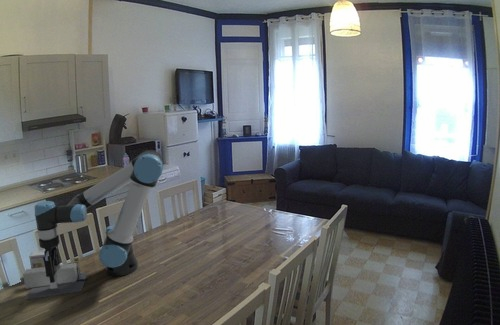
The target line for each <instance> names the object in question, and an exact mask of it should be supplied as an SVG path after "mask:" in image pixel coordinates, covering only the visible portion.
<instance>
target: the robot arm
mask: <svg viewBox="0 0 500 325" xmlns="http://www.w3.org/2000/svg"><path fill="white" fill-rule="evenodd" d="M163 166H164V159H163V156H162V154H160V153H159V152H158V151H157V150H153V149H148V150H147V149H146V150H144V151H142V152H141V153H139V155H137V156H136V157H135V158H133V159H132V160H130V162H129V164H127V165H126V166H124V167H122V168H120V169H119V170H118V171H115V172H114V173H112V174H111V175H109V176H107V177H106V178H104V179H103V180H100V182H98V183H96V184H95V185H93V186H91V187H90V188H87V189H86V190H85V191H82V193H78V194H76V195H74V196H73V197H72V198H71V200H70V201H69V202H68V204H66V205H56V204H55V202H54V201H51V200H45V201H40V202H38V203H36V204H35V205H34V217H35V223H36V233H37V234H38V235H37V236H38V242H39V248H41V249H44V250H45V251H44V254H45V257H43V260H44V264H45V270H46V276H47V277H49V283H50V289H53V288H57V287H58V286H57V279H56V274H55V268H54V266H57V265H61V262H60V255H59V254H60V253H59V244H60V236H59V230H58V229H59V226H58V224H69V223H80V222H81V223H82V222H85V220H87V215H88V214H87V213H88V211H87V210H88V209H89V208H90V207H93V206H94V205H95V204H97V203H98V202H100V201H101V200H104V199H105V198H107V197H109V196H110V195H112V194H114V193H115V192H117V191H119V190H120V189H121V188H124V187H125V186H127V185H128V184H130V186H129V189H128V191H127V194H126V196H125V198H124V201H123V203H122V205H121V208H120V210H119V213H118V215H117V219H116V221H115V223H114V224H112V225H109V226H107V227H106V228H105V239H104V241H103V244H102V246H101V248H100V250H99V252H98V258H99V262H101V264H102V265H103V266H105V271H106V274H107V275H109V276H112V277H121V276H126V275H130V274H132V273H133V272H135V271H137V269H139V262H138V259H137V257H136V255H135V253H134V248H133V247H134V246H133V242H134V237H133V233H134V231H135V228H136V226H137V223H138V220H139V218H140V216H141V214H142V211H143V208H144V207H145V204H146V201H147V199H148V196H149V194H150V191H151V189H154V188H156V185H157V183H158V181H159V180H160V178H161V176H162V174H163V172H164V171H163V168H164V167H163Z"/></svg>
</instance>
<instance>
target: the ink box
mask: <svg viewBox="0 0 500 325" xmlns="http://www.w3.org/2000/svg"><path fill="white" fill-rule="evenodd" d="M44 251H45V249H44V250H33V251H32V252H30V254H29V256H28V257H29V262H30V269H33V268H36V267H45V264H44V260H43V257H45V254H44ZM37 262H42V266H37V264H36V263H37Z"/></svg>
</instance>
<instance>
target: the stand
mask: <svg viewBox="0 0 500 325" xmlns="http://www.w3.org/2000/svg"><path fill="white" fill-rule="evenodd" d="M73 261H74V262H71V264H73V263H76V266H77V274H78V278H77V280H76V282H81V281H85V282H86V280H87V277H88V273H89V272H81V271H80V264H79V262H80V257H78V256H77V257H73ZM36 264H37V266H42V262H37V263H36ZM36 268H41V267H36ZM70 283H74V282H70ZM62 284H67V283H62ZM57 285H60V284H57ZM48 286H50V285H48ZM40 287H46V286H40ZM33 288H39V287H33ZM27 289H28V290H31V289H32V288H27Z"/></svg>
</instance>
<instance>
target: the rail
mask: <svg viewBox="0 0 500 325" xmlns="http://www.w3.org/2000/svg"><path fill="white" fill-rule="evenodd" d="M72 263H73V264H72ZM72 263H67V264H59V265H57V266H54V268H55V274H56V279H57V284H59V285H60V284H62V283H66V284H67V283H70V282H73V283H74V282H76V280H77V278H78V274H77V266H76V263H74V262H72ZM22 274H23V280H24V281H23V282H24V287H25V289H28V288H31V289H32V288H33V287H38V288H39V287H40V286H45V287H46V286H48V285H50V283H49V277H47V276H46V270H45V267H41V268H33V269H31V268H28V269H27V268H26V269H25V270H24V272H23V273H22Z"/></svg>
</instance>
